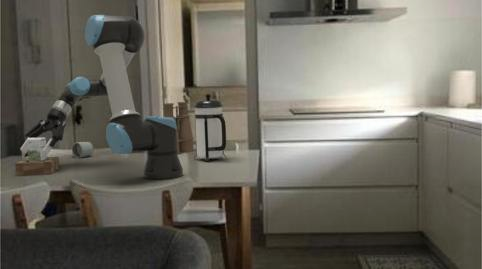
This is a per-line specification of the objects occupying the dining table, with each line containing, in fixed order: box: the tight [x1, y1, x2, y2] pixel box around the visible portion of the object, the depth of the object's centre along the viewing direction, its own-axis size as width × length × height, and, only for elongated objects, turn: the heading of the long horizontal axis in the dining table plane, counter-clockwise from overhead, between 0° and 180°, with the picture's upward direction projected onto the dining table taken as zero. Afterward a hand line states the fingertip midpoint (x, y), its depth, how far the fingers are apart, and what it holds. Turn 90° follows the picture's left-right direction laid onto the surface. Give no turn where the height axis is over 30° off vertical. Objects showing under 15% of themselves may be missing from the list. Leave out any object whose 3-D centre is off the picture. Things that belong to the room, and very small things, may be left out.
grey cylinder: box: [71, 141, 95, 159], centre depth 267 cm, size 11×8×8 cm
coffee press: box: [193, 93, 227, 163], centre depth 243 cm, size 17×16×30 cm
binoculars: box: [162, 101, 195, 155], centre depth 270 cm, size 21×10×25 cm, turn 145°
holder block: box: [14, 156, 60, 177], centre depth 227 cm, size 14×14×5 cm
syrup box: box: [26, 136, 48, 162], centre depth 227 cm, size 6×6×14 cm
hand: (33, 152), depth 225 cm, fingers open, 13 cm apart
